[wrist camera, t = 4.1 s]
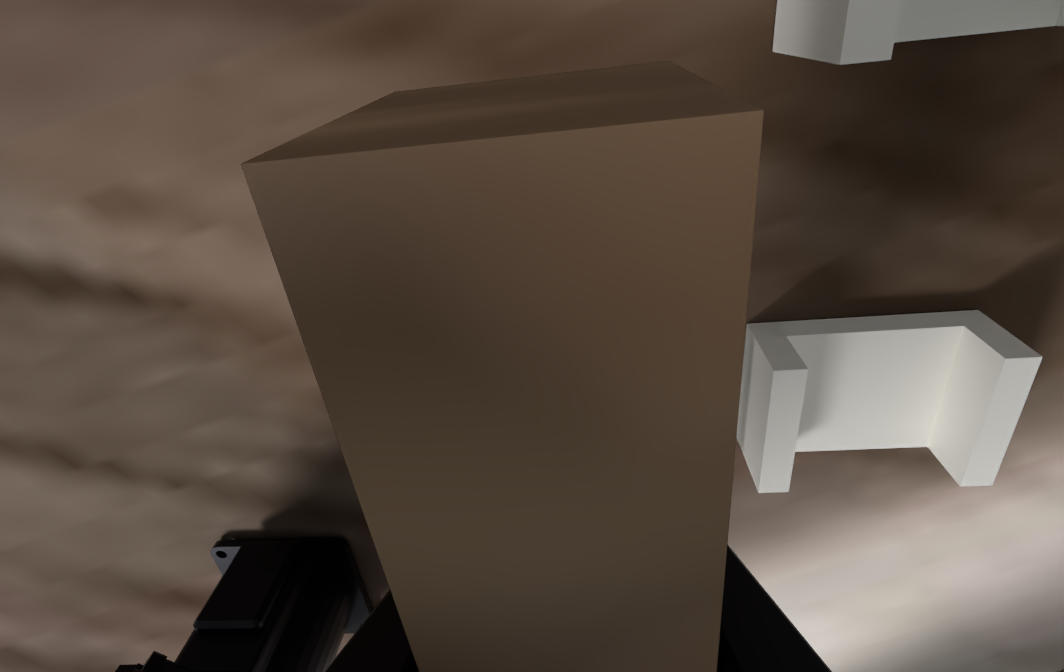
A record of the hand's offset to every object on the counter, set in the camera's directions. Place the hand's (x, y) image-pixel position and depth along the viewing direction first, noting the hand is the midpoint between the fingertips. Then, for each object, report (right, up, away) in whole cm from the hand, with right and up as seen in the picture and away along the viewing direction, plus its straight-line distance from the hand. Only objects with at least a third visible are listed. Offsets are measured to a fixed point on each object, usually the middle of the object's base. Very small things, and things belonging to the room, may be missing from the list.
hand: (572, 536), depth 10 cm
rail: (0, +1, +1) cm, 1 cm away
